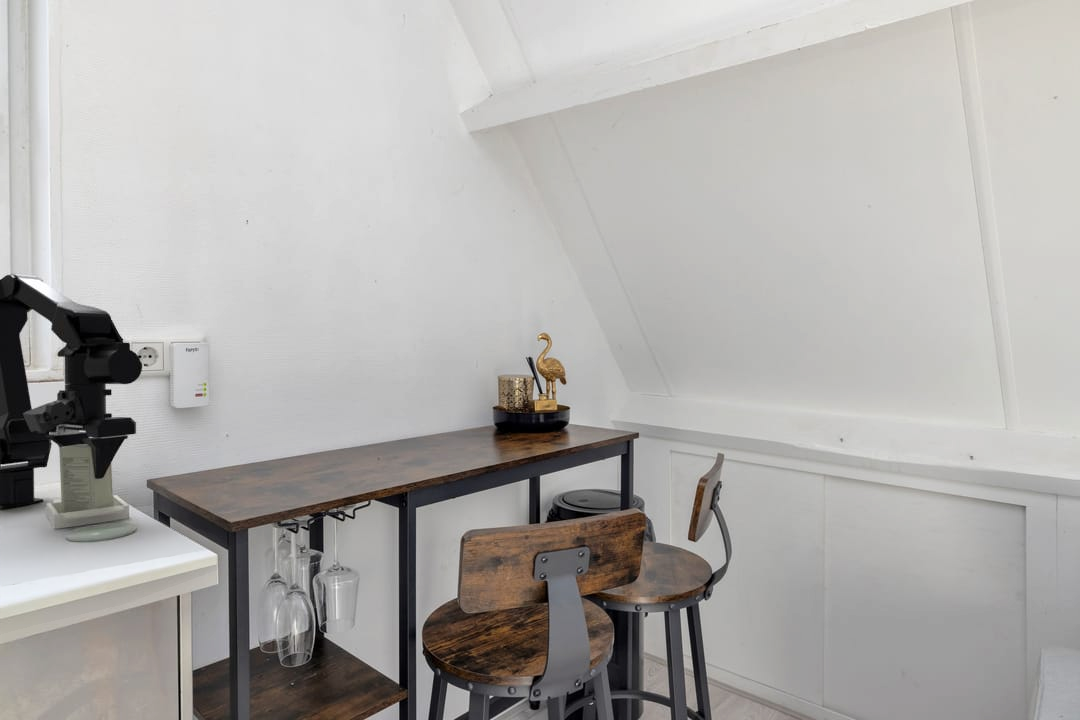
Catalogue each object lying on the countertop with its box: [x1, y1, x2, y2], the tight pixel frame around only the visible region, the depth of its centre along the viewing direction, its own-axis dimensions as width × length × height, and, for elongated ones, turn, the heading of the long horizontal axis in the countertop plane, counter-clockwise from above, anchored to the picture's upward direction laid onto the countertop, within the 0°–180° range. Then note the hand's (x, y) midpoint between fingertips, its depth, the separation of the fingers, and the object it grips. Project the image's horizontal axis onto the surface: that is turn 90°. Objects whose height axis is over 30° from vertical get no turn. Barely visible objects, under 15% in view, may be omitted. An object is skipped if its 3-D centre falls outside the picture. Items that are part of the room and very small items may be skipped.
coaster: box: [65, 522, 137, 543], centre depth 104 cm, size 9×9×1 cm
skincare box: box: [58, 444, 114, 513], centre depth 115 cm, size 6×4×12 cm
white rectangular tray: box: [45, 494, 130, 530], centre depth 115 cm, size 18×10×2 cm, turn 41°
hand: (86, 476), depth 115 cm, fingers closed on skincare box, 7 cm apart
